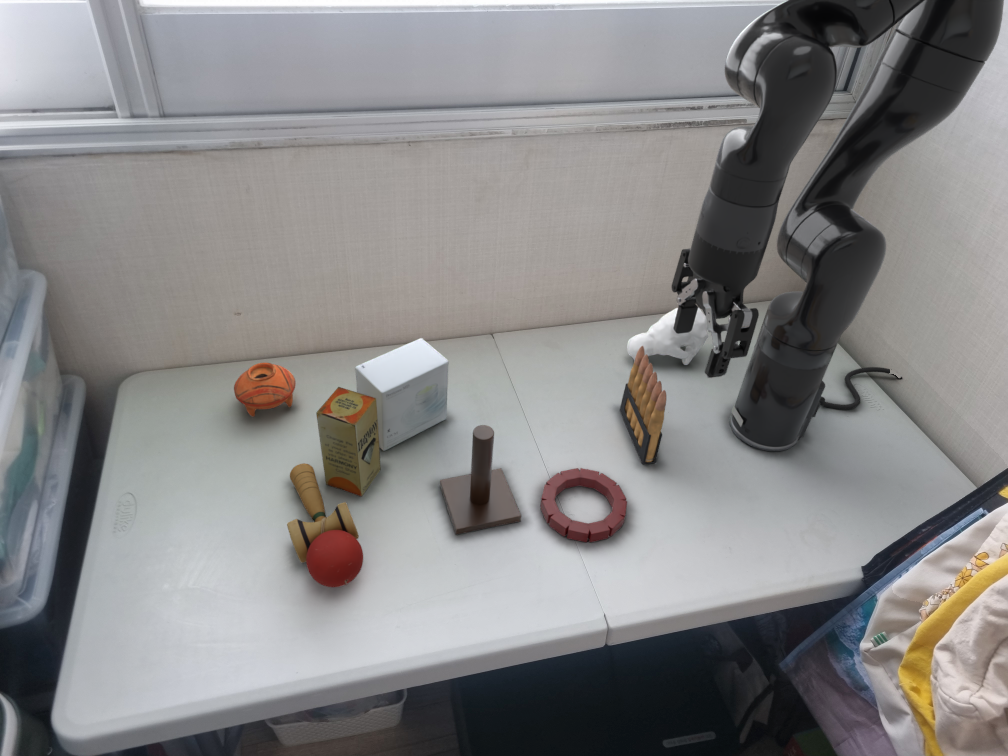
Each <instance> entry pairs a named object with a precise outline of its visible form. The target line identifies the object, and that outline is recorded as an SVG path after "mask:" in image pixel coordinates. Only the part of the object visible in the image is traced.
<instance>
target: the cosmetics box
mask: <svg viewBox="0 0 1008 756" xmlns="http://www.w3.org/2000/svg"><path fill="white" fill-rule="evenodd" d="M449 362H450V361H449V360H448V359H447V358H446V357H445V356H444V355H443V354H442V353H440V352H439V351H438V350H437V349H435V347H433V346H432V345H431V344H429V342H427V341H426V340H425V339H424V338H423V337H420V338H418V339H415V340H413V341H411V342H408V343H407V344H404V345H401V346H400V347H397V348H395V349H393V350H390V351H388V352H385V353H383V354H381V355H379V356H376V357H374V358H371V359H369V360H368V361H365V362H362V363H360V364H358V365H356V366H355V367H354V371H355V384H356V392H357V393H361V394H364V395H367V396H371V397H374V398H376V403H377V419H378V434H379V449H381V450H382V451H383V452H385V451H387V450H389V449H391V448H393V447H395V446H397V445H399V444H401V443H402V442H405V441H406V440H408V439H410V438H413V437H414V436H416V435H418V434H420V433H421V432H424V431H426V430H428V429H429V428H431V427H433V426H435V425H437V424H439V423H442V422H443V421H445V420H447V419H448V418H447V417H448V416H447V415H448V414H447V413H448V411H447V410H448V407H447V406H448V390H449V389H448V387H449V386H448V385H449V383H448V382H449Z"/></svg>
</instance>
